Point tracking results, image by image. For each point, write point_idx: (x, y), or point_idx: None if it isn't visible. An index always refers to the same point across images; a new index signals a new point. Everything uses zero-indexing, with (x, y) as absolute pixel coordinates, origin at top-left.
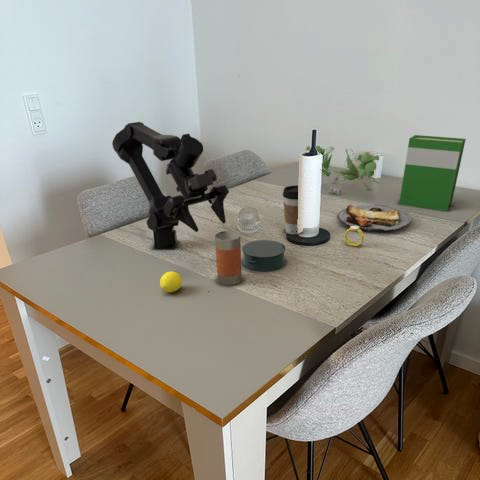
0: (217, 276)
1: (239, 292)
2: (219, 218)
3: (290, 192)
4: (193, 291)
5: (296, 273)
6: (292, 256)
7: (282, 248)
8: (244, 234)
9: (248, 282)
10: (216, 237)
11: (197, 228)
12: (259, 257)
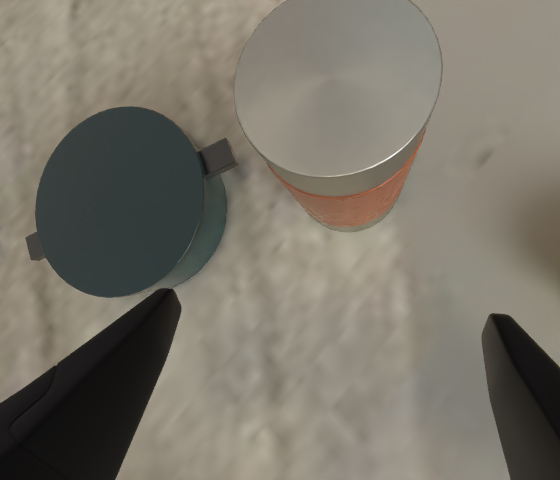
0: (393, 203)
1: None
2: (157, 370)
3: None
4: (537, 204)
5: (148, 70)
6: None
7: (72, 142)
8: None
9: None
10: (430, 99)
11: (504, 322)
12: (190, 141)
